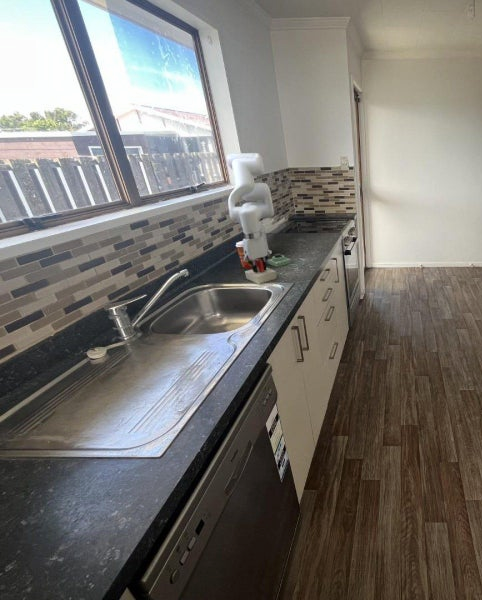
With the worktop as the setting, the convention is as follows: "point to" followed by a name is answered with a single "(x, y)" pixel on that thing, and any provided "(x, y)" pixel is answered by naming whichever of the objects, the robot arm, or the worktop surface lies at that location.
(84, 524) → the worktop surface
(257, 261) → the tap handle
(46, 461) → the worktop surface
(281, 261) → the switch block
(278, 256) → the button
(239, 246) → the paper cup
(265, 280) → the block
